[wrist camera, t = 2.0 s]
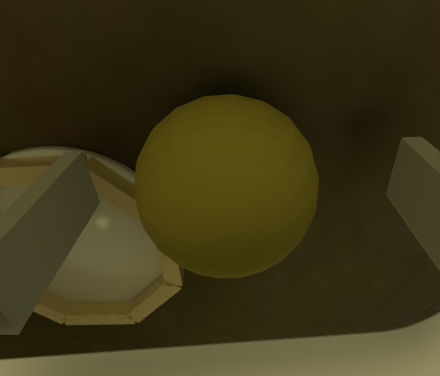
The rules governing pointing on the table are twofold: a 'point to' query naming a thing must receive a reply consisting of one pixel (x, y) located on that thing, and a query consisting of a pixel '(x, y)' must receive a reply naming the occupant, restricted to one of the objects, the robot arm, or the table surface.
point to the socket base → (98, 246)
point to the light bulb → (226, 186)
